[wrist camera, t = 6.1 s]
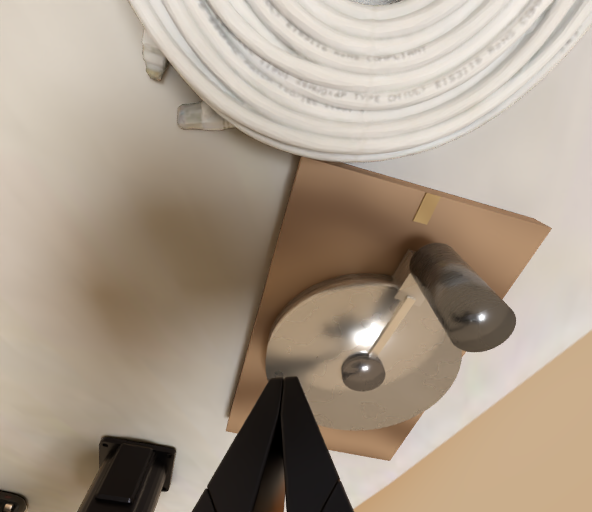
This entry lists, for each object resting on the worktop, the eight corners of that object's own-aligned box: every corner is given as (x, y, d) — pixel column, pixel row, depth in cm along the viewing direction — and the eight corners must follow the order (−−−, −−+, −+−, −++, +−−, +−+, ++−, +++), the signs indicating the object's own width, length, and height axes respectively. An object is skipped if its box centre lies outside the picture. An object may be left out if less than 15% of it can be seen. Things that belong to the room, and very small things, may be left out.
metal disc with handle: (393, 427, 25) (421, 529, 19) (244, 386, 23) (225, 486, 17) (525, 268, 18) (630, 350, 12) (333, 192, 16) (351, 248, 11)
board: (385, 443, 28) (390, 462, 27) (229, 414, 27) (225, 432, 25) (533, 218, 19) (553, 229, 17) (302, 151, 17) (302, 156, 16)
